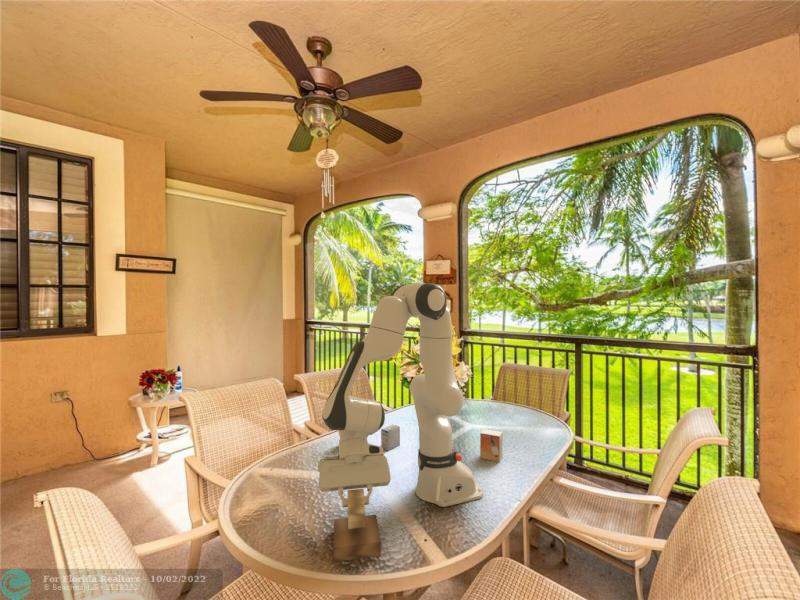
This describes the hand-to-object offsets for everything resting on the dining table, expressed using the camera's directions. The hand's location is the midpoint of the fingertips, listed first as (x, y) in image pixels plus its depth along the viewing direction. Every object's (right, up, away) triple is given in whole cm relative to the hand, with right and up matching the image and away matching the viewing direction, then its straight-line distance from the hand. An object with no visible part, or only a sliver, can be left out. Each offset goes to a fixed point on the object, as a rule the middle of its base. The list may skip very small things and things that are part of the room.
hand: (356, 505), depth 100 cm
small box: (+49, -9, +51) cm, 71 cm away
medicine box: (+8, -9, +63) cm, 64 cm away
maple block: (0, -5, 0) cm, 5 cm away
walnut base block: (0, -11, 0) cm, 11 cm away
